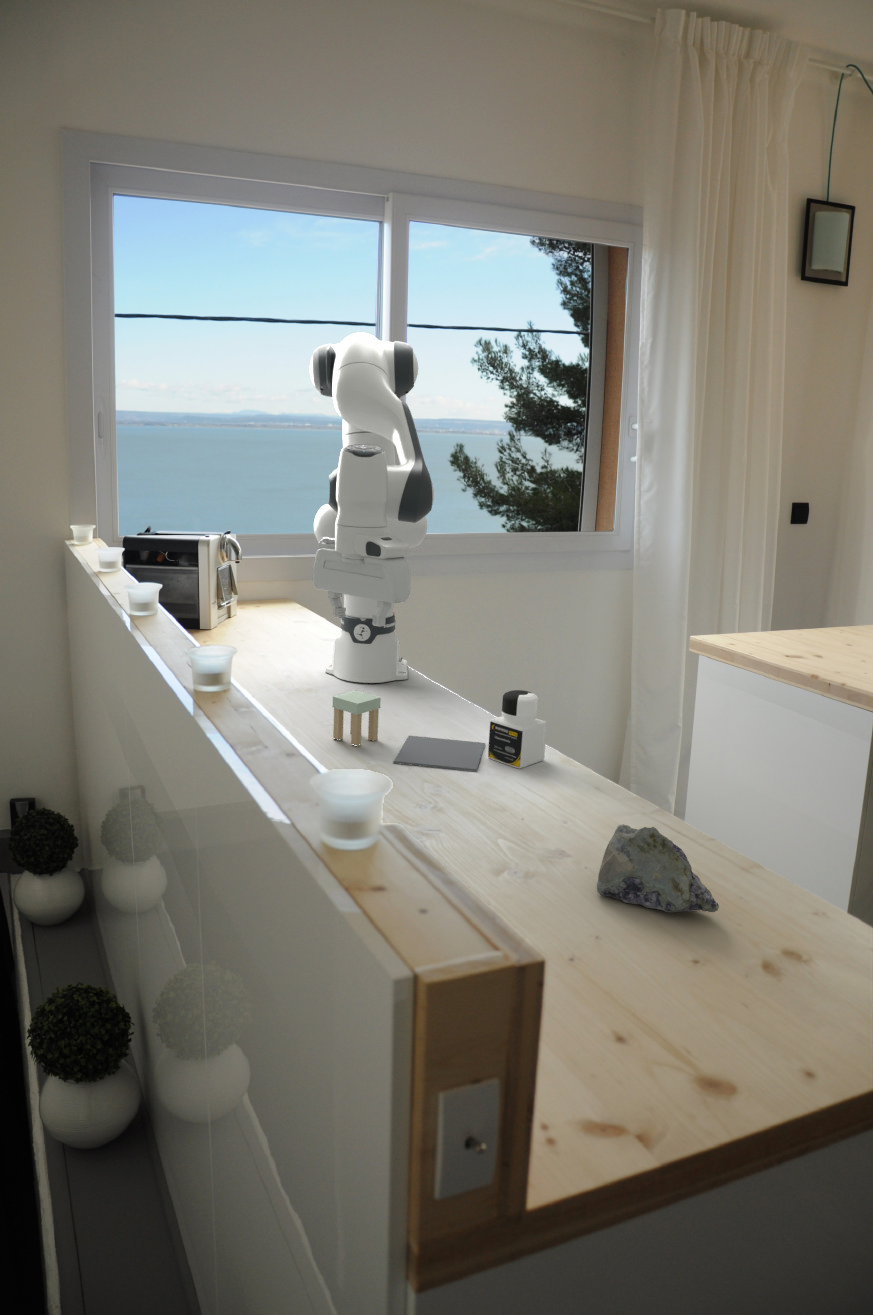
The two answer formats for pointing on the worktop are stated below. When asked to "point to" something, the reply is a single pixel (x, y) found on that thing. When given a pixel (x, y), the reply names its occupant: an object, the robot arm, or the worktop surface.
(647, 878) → the mineral rock
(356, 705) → the stool
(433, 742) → the mat
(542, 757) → the medicine bottle
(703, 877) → the worktop surface
